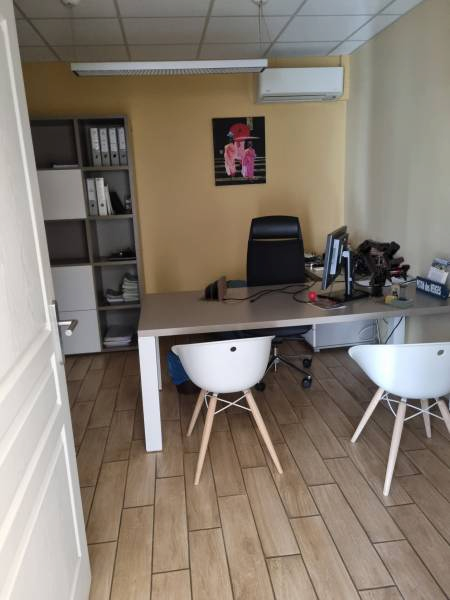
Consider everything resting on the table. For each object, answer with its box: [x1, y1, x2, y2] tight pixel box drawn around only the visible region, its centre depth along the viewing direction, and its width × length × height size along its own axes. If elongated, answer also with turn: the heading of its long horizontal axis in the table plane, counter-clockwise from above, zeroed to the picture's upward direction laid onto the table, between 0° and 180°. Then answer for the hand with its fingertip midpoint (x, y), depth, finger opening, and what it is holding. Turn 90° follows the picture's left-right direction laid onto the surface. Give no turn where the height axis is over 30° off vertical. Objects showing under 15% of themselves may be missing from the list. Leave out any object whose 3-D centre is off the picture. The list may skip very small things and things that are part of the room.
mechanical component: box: [391, 281, 410, 290], centre depth 289 cm, size 3×10×10 cm, turn 78°
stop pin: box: [399, 283, 407, 302], centre depth 270 cm, size 4×4×12 cm
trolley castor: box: [390, 284, 400, 298], centre depth 281 cm, size 5×6×10 cm
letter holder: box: [204, 275, 228, 302], centre depth 305 cm, size 10×20×14 cm, turn 165°
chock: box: [385, 294, 397, 305], centre depth 279 cm, size 5×4×4 cm
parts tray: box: [390, 297, 415, 310], centre depth 271 cm, size 9×9×4 cm
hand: (399, 281), depth 273 cm, fingers open, 9 cm apart
